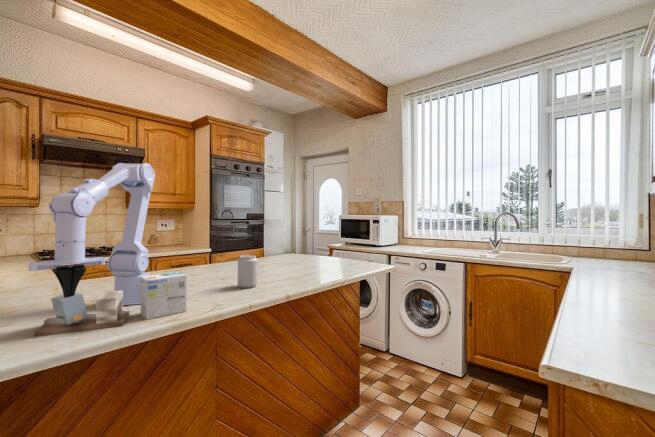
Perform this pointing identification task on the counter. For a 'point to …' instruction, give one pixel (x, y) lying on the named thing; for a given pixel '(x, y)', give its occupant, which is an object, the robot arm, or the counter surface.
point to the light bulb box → (162, 294)
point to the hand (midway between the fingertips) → (69, 297)
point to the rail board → (91, 316)
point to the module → (70, 307)
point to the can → (247, 271)
